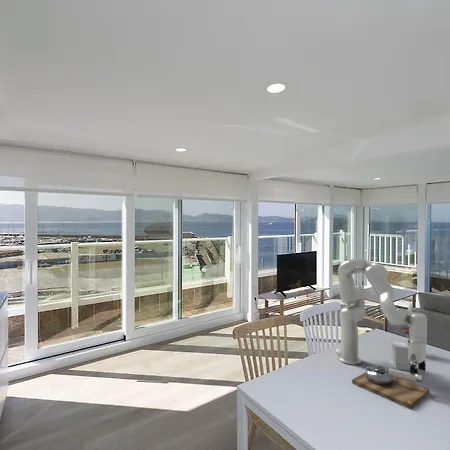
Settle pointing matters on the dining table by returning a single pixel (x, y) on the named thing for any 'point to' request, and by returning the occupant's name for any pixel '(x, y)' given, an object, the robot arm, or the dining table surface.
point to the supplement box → (400, 356)
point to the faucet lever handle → (388, 375)
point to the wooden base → (395, 390)
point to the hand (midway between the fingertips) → (417, 372)
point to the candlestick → (406, 329)
